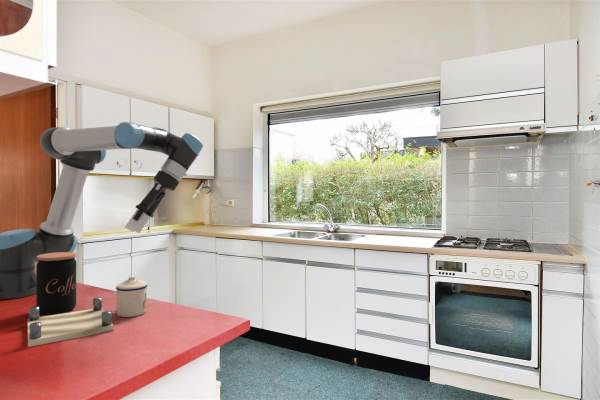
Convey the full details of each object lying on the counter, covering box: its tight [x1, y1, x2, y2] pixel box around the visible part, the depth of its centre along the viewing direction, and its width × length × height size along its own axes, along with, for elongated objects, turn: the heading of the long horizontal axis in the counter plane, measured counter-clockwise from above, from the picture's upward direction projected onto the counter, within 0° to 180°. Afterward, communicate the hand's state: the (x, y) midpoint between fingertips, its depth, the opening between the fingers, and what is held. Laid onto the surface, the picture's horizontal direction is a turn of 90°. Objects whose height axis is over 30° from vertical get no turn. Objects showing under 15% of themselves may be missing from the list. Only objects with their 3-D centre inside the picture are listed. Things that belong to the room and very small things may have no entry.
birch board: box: [27, 307, 115, 348], centre depth 103 cm, size 19×19×2 cm
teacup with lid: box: [115, 275, 148, 318], centre depth 117 cm, size 12×9×12 cm
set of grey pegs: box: [28, 296, 112, 340], centre depth 103 cm, size 18×18×4 cm
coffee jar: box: [35, 252, 77, 316], centre depth 117 cm, size 11×11×18 cm
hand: (132, 230), depth 117 cm, fingers open, 13 cm apart
